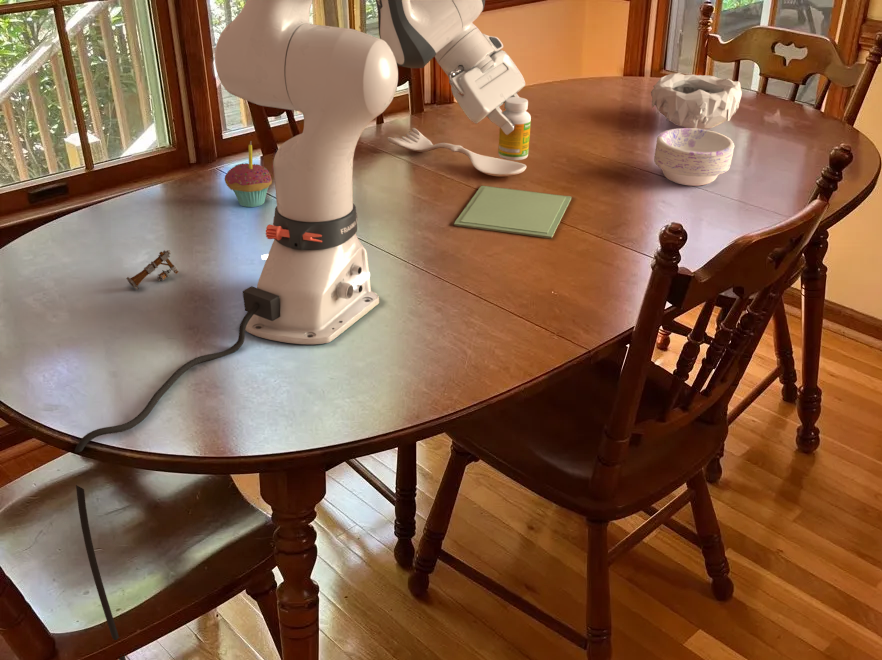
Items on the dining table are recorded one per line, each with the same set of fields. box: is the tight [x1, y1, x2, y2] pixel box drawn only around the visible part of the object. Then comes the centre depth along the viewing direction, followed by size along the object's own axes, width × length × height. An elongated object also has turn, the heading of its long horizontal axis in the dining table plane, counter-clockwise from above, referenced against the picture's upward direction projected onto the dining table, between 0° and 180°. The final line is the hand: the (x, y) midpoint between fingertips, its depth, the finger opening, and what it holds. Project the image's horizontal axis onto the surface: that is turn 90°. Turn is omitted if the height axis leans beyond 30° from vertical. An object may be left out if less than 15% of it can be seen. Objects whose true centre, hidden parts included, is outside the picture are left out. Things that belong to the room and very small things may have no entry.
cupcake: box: [224, 140, 273, 208], centre depth 169 cm, size 9×8×12 cm
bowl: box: [650, 72, 743, 130], centre depth 213 cm, size 21×20×10 cm
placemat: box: [453, 185, 572, 239], centre depth 171 cm, size 20×18×1 cm
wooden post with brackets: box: [125, 249, 179, 291], centre depth 145 cm, size 2×8×4 cm, turn 131°
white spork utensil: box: [387, 127, 527, 177], centre depth 191 cm, size 9×32×4 cm, turn 52°
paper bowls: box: [653, 127, 735, 187], centre depth 185 cm, size 15×15×8 cm
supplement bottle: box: [497, 96, 532, 161], centre depth 161 cm, size 5×5×10 cm
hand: (518, 125), depth 161 cm, fingers closed on supplement bottle, 5 cm apart
